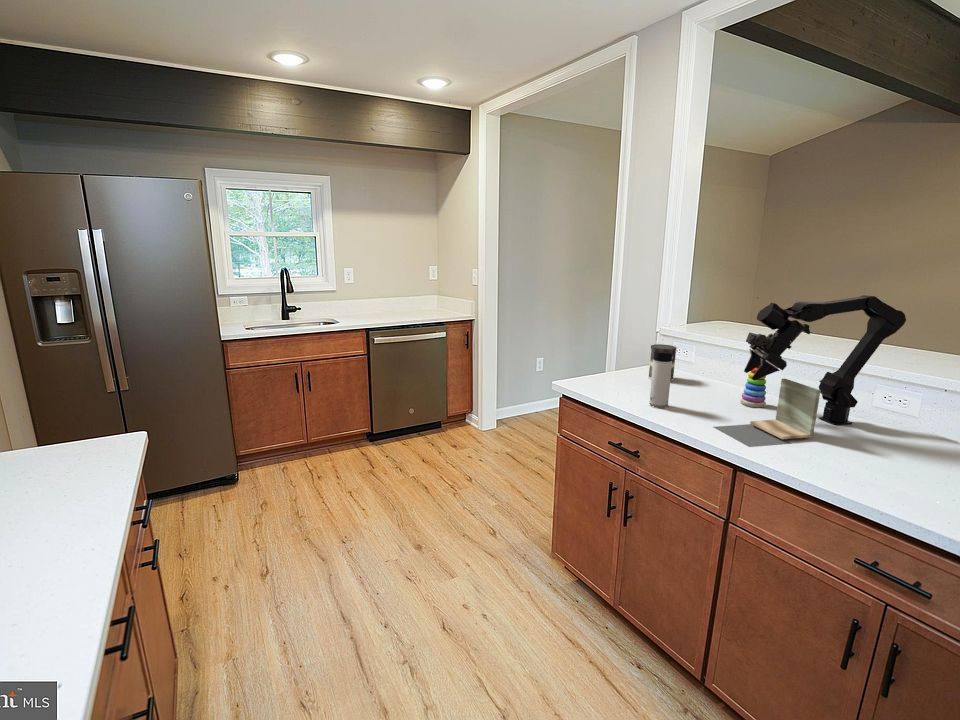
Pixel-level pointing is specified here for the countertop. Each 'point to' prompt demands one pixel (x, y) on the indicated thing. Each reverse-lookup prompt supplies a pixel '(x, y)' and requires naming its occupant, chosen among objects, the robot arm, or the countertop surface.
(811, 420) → the wooden bookend
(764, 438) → the mat
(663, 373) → the travel mug
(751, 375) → the stacking toy
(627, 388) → the countertop surface
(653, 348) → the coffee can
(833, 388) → the robot arm
